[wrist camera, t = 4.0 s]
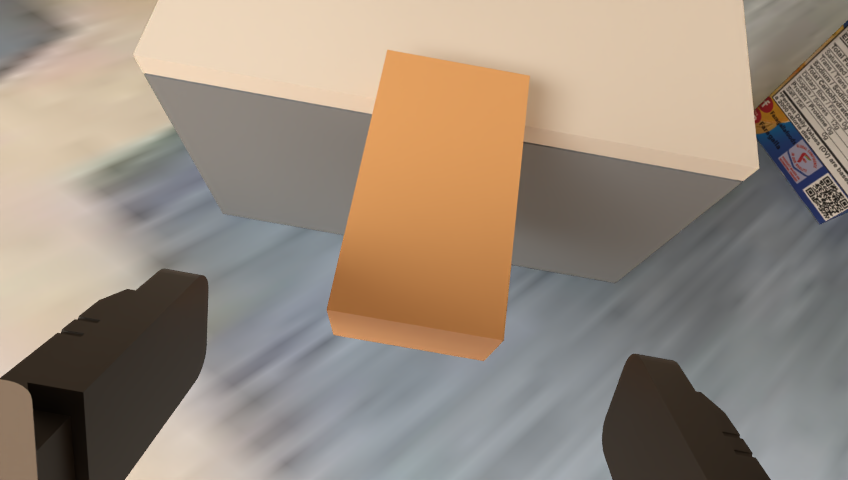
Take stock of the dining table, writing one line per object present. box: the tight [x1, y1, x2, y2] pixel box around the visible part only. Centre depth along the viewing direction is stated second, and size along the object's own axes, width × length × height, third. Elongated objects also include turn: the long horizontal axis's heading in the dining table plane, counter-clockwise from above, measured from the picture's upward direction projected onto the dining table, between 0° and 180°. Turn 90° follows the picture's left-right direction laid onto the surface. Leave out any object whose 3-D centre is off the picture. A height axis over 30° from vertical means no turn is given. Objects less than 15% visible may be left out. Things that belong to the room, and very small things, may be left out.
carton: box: [144, 73, 741, 283], centre depth 25 cm, size 19×16×10 cm
